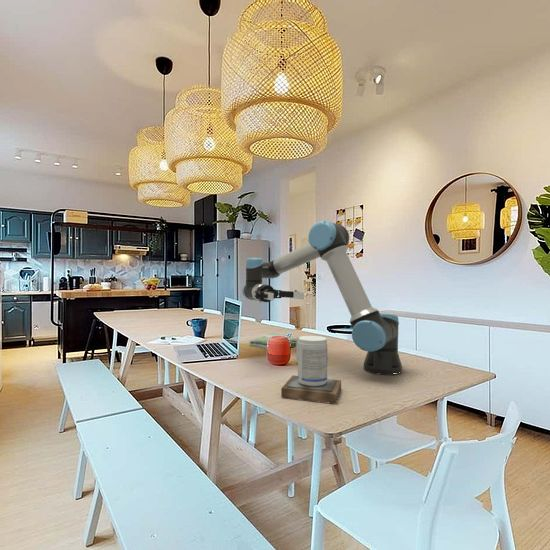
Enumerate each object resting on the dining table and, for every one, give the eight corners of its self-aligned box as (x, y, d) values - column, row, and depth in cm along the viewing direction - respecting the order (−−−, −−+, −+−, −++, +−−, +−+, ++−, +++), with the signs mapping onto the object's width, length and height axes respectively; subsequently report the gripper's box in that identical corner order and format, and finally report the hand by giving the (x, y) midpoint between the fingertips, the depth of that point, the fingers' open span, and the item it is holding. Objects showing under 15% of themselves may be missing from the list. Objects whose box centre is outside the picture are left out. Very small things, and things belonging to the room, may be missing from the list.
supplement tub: (333, 384, 120) (333, 339, 120) (310, 389, 115) (310, 341, 115) (313, 376, 128) (314, 334, 128) (291, 381, 123) (292, 336, 123)
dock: (341, 388, 126) (341, 379, 126) (335, 403, 112) (335, 392, 112) (292, 383, 131) (292, 374, 131) (281, 397, 117) (281, 386, 117)
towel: (281, 352, 184) (281, 341, 184) (248, 346, 196) (248, 336, 196) (301, 346, 199) (301, 336, 199) (269, 341, 211) (269, 332, 211)
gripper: (287, 300, 168) (314, 305, 150) (236, 302, 156) (259, 307, 138) (288, 284, 168) (314, 286, 150) (237, 284, 156) (259, 286, 138)
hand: (288, 296), depth 144 cm, fingers open, 13 cm apart
